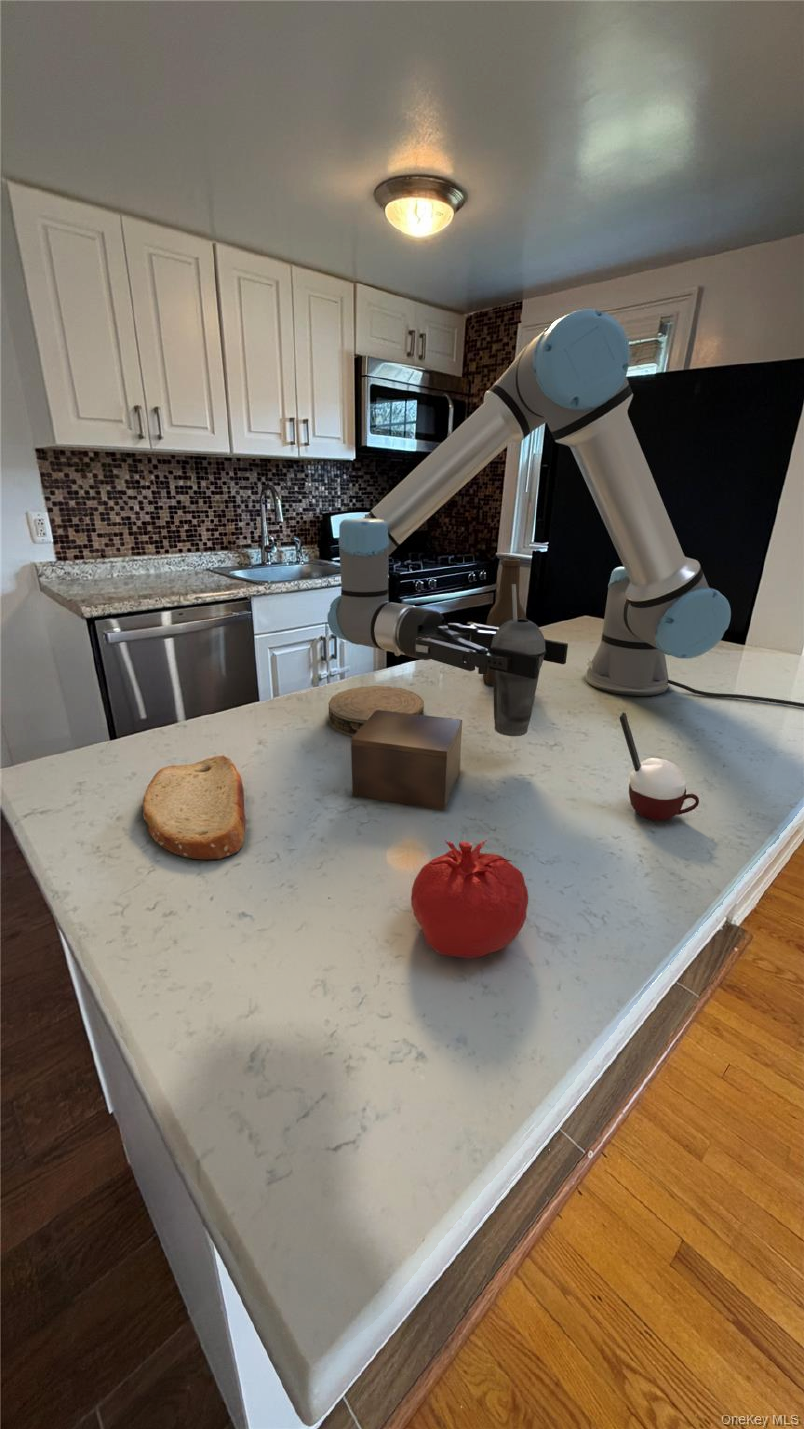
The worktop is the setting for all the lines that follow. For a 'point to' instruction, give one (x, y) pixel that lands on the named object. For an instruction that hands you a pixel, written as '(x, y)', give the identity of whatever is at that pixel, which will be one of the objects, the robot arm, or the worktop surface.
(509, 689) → the beverage cup
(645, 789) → the cocoa
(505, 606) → the beer bottle
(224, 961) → the worktop surface
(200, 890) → the worktop surface
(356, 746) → the riser
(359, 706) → the tan flat ringed disc
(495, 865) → the pomegranate
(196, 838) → the bread slice
